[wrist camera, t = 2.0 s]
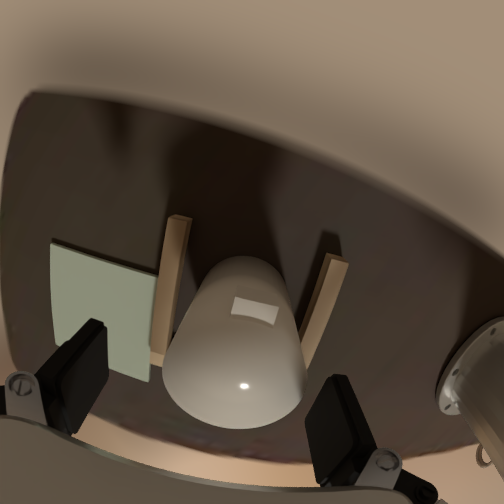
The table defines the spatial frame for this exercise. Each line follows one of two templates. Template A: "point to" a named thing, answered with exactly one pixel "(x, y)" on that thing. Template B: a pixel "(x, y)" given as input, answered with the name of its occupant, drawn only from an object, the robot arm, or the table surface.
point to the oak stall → (171, 279)
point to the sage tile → (104, 305)
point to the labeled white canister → (237, 348)
